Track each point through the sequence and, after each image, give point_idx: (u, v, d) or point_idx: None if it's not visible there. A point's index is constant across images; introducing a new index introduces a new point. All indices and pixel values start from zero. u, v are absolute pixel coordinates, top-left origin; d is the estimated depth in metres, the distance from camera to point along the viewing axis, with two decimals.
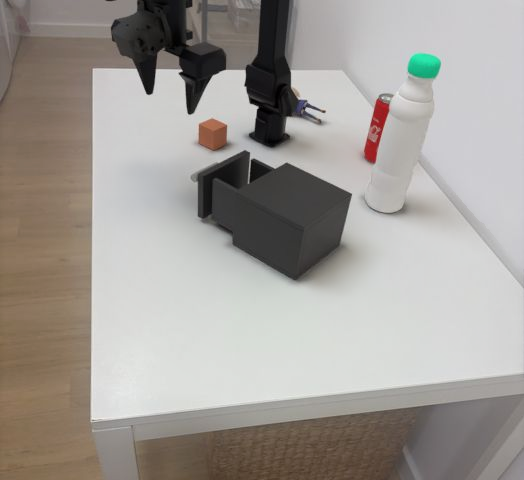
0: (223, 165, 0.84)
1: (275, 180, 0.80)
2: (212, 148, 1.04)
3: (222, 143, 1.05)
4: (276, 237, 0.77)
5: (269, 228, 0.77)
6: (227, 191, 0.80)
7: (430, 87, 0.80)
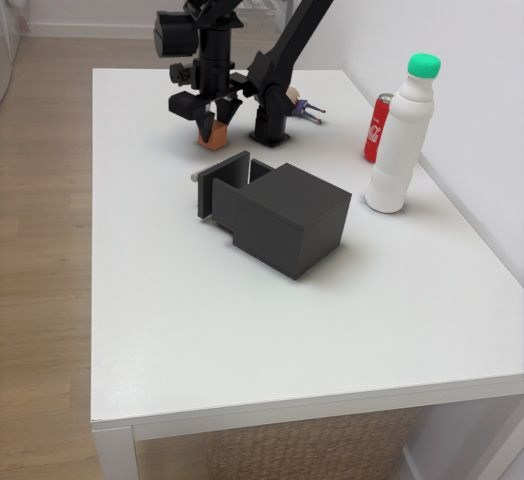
0: (223, 165, 0.84)
1: (275, 180, 0.80)
2: (212, 148, 1.04)
3: (222, 143, 1.05)
4: (276, 237, 0.77)
5: (269, 228, 0.77)
6: (227, 191, 0.80)
7: (430, 87, 0.80)
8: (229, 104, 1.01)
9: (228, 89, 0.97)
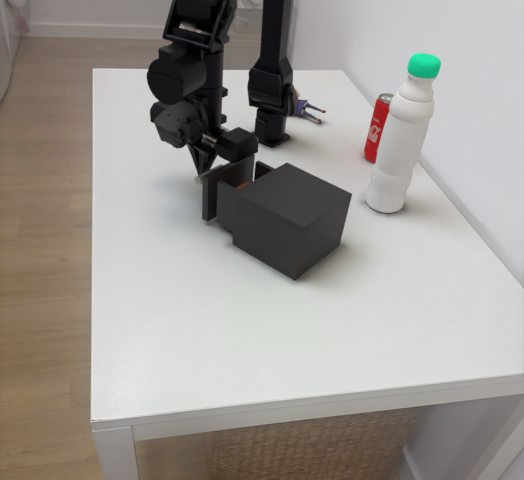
0: (228, 167, 0.83)
1: (275, 180, 0.80)
2: None
3: None
4: (276, 237, 0.77)
5: (269, 228, 0.77)
6: (232, 194, 0.80)
7: (430, 87, 0.80)
8: None
9: None
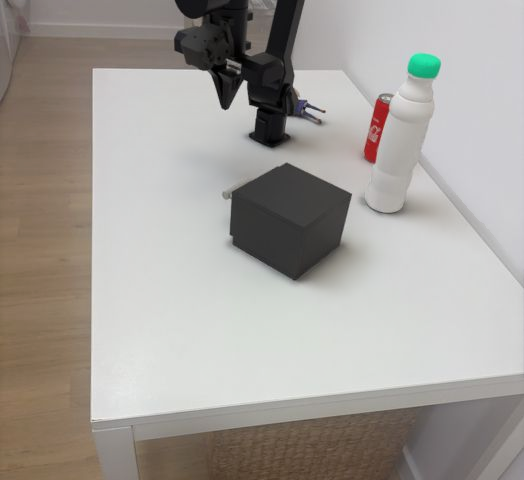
0: None
1: (275, 180, 0.80)
2: None
3: None
4: (276, 237, 0.77)
5: (269, 228, 0.77)
6: None
7: (430, 87, 0.80)
8: None
9: None
